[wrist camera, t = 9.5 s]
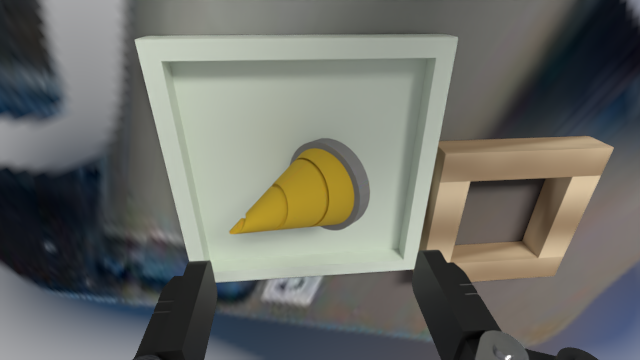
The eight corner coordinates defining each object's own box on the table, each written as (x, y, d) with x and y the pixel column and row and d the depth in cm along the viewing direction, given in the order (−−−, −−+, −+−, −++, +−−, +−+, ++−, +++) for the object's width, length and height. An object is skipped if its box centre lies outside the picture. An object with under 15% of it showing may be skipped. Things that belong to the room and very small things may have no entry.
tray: (148, 35, 17) (134, 39, 16) (443, 33, 19) (458, 37, 17) (200, 265, 25) (194, 283, 24) (407, 253, 26) (414, 269, 25)
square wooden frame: (433, 141, 22) (445, 153, 20) (588, 136, 23) (613, 147, 21) (410, 266, 27) (419, 285, 25) (537, 258, 28) (554, 275, 26)
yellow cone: (344, 211, 24) (225, 285, 17) (317, 141, 23) (184, 188, 17) (408, 200, 20) (287, 289, 13) (377, 116, 19) (235, 162, 13)
